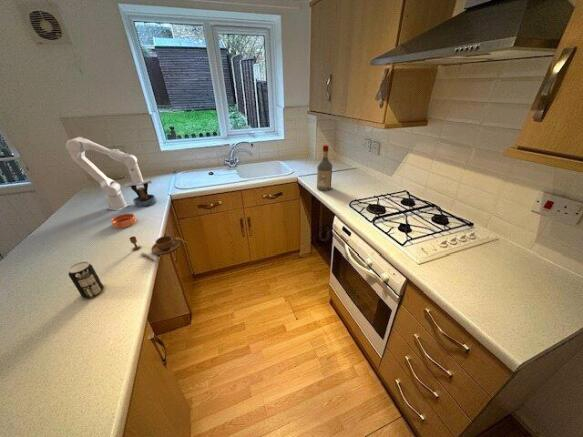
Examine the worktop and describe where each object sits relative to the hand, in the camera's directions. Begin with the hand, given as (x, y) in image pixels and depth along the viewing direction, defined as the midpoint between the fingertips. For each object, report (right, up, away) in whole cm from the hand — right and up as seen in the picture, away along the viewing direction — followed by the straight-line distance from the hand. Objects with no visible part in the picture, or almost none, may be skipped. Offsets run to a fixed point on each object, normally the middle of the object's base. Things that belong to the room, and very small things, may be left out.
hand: (143, 195), depth 153 cm
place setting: (+34, -28, -40) cm, 60 cm away
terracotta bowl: (+3, -18, -21) cm, 28 cm away
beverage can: (+22, -42, -65) cm, 81 cm away
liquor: (+118, +7, +18) cm, 120 cm away
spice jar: (0, -2, +1) cm, 2 cm away
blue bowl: (0, -5, +3) cm, 6 cm away
